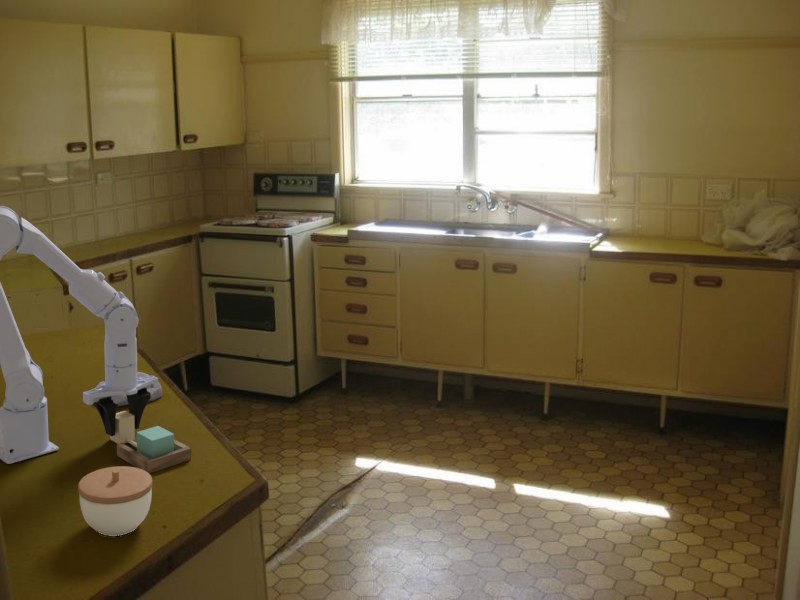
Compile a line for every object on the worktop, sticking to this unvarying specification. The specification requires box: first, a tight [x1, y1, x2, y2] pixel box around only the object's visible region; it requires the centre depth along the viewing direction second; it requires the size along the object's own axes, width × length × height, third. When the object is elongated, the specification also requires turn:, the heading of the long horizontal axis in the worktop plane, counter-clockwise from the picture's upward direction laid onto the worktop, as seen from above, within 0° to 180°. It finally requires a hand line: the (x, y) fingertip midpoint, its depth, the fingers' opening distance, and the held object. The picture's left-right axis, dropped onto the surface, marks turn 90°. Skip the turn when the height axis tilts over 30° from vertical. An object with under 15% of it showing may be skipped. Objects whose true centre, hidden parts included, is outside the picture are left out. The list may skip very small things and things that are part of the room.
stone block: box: [96, 371, 163, 407], centre depth 185 cm, size 12×5×10 cm
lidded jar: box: [77, 465, 153, 536], centre depth 133 cm, size 11×11×9 cm
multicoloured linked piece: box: [109, 410, 175, 459], centre depth 160 cm, size 15×4×5 cm, turn 49°
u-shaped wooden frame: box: [116, 438, 192, 474], centre depth 158 cm, size 10×9×2 cm
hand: (122, 430), depth 164 cm, fingers open, 4 cm apart
